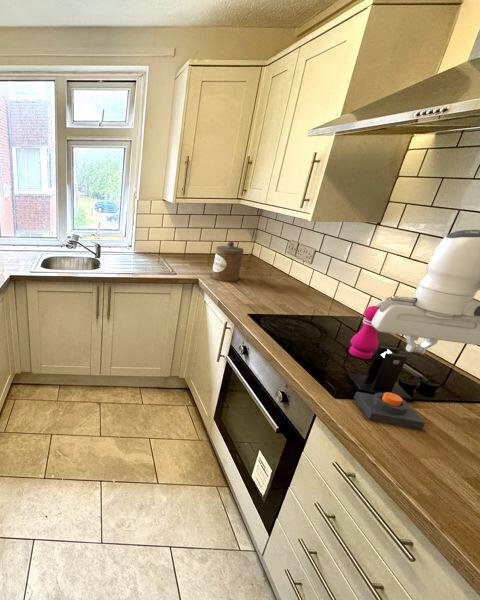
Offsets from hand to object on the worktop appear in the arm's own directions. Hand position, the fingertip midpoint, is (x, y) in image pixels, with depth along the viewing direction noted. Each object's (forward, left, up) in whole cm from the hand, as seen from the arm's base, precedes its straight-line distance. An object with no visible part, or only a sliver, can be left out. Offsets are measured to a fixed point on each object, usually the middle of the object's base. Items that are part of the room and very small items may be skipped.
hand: (414, 351), depth 78 cm
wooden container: (+31, -110, -19) cm, 116 cm away
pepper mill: (-7, -32, -19) cm, 38 cm away
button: (0, +1, -15) cm, 15 cm away
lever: (-6, -11, -11) cm, 17 cm away
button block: (0, +1, -19) cm, 19 cm away
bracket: (-3, -11, -19) cm, 22 cm away
